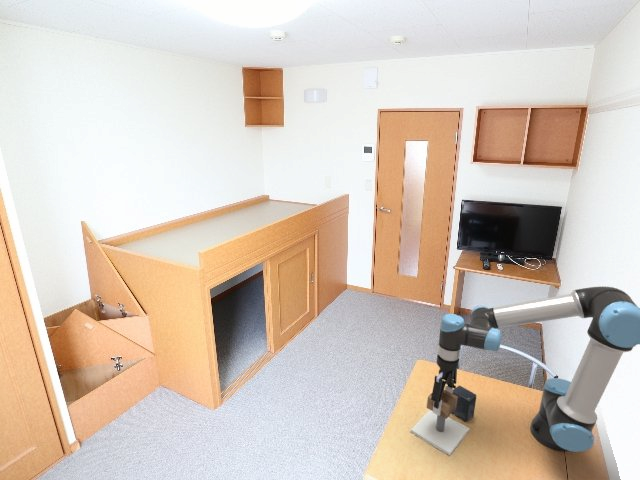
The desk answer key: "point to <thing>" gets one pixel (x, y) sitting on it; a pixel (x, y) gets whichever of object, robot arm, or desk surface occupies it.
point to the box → (464, 403)
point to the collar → (444, 403)
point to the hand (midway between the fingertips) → (442, 407)
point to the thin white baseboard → (440, 432)
